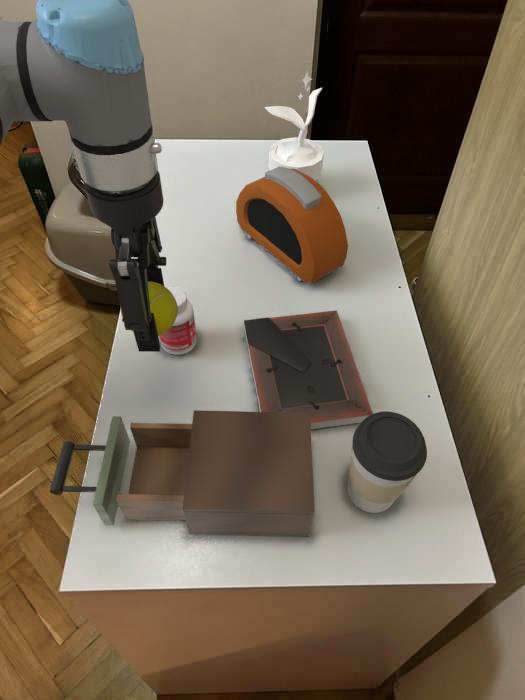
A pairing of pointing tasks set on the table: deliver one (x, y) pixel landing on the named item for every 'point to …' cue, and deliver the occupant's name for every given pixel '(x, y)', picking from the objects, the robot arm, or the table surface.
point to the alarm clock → (294, 222)
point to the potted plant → (297, 140)
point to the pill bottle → (180, 326)
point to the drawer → (135, 471)
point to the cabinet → (249, 474)
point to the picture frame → (306, 368)
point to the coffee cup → (384, 460)
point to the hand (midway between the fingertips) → (153, 326)
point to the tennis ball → (162, 307)
